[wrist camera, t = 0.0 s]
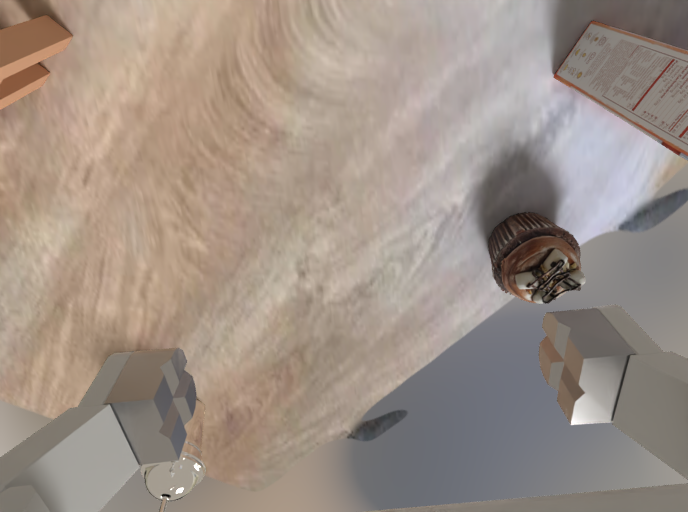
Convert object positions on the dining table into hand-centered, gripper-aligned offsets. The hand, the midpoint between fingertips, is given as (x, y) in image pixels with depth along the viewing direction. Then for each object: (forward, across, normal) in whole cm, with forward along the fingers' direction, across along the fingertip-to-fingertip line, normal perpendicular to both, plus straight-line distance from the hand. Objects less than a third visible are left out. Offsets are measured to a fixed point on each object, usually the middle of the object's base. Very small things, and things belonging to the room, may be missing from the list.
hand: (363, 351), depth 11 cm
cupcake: (+41, -20, +21) cm, 50 cm away
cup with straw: (+44, +27, +46) cm, 69 cm away
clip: (+38, +26, -5) cm, 47 cm away
